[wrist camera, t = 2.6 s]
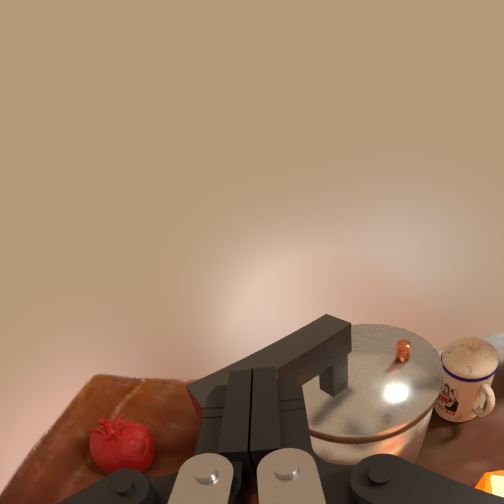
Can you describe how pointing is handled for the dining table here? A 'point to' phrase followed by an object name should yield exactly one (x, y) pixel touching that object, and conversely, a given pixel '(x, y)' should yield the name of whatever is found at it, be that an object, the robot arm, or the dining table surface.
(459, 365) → the teacup with lid
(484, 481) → the orange juice
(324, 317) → the cooker lid
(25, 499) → the dining table surface
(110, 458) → the pomegranate
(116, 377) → the dining table surface
